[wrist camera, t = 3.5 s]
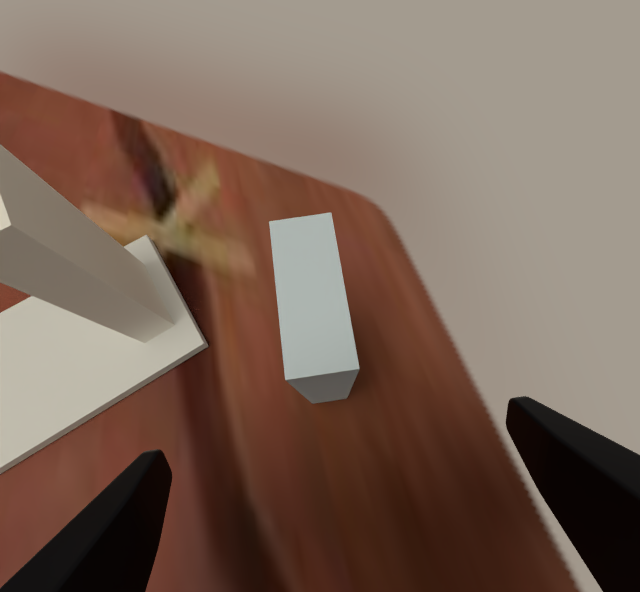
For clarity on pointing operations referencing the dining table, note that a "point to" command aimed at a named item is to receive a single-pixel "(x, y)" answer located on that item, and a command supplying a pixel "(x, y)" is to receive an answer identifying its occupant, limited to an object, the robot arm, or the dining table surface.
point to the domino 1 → (71, 258)
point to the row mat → (80, 363)
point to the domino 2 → (313, 308)
